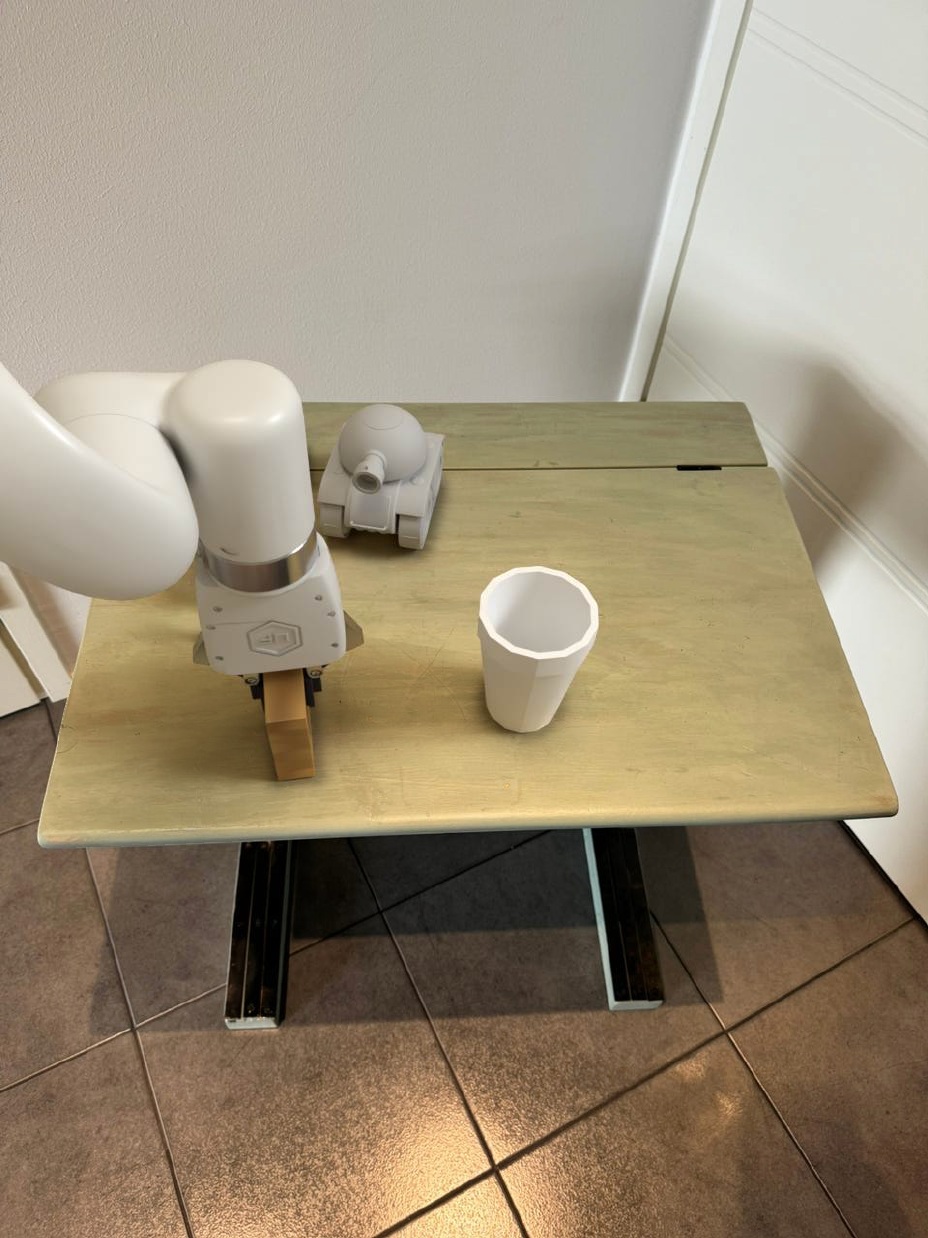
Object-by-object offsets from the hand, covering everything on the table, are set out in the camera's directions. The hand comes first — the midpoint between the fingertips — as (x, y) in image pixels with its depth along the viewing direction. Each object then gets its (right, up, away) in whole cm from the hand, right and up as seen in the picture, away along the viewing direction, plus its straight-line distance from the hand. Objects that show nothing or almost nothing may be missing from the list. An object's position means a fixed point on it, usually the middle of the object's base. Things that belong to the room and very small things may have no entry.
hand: (288, 694), depth 70 cm
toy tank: (+6, +18, +20) cm, 27 cm away
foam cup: (+20, -1, +5) cm, 21 cm away
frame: (0, -2, +3) cm, 4 cm away
